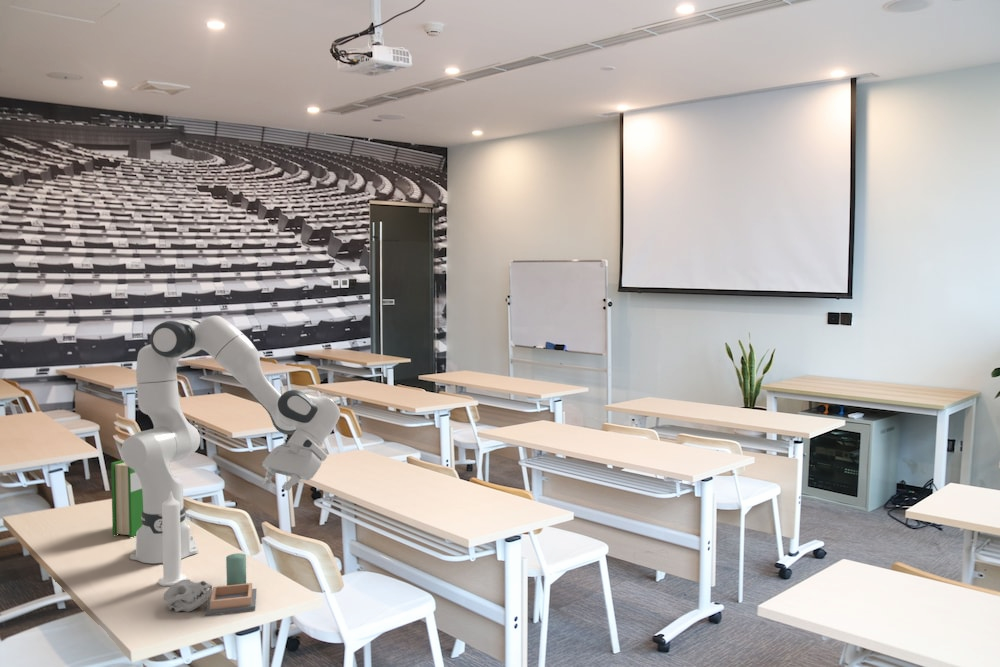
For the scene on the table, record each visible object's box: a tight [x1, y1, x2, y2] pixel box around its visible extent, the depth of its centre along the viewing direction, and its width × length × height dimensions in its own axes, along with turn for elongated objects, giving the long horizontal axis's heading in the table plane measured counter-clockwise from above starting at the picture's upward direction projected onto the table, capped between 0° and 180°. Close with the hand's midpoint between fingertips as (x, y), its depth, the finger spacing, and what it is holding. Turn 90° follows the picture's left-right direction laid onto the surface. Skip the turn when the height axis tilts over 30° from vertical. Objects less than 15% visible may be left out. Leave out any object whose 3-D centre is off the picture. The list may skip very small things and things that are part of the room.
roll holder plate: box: [204, 582, 257, 616], centre depth 190 cm, size 12×12×3 cm
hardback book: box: [110, 459, 143, 538], centre depth 249 cm, size 18×7×24 cm, turn 165°
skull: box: [162, 579, 213, 613], centre depth 187 cm, size 8×9×12 cm
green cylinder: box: [225, 553, 247, 586], centre depth 201 cm, size 5×5×8 cm
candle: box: [158, 491, 188, 587], centre depth 204 cm, size 7×7×25 cm
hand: (274, 486), depth 210 cm, fingers open, 8 cm apart
